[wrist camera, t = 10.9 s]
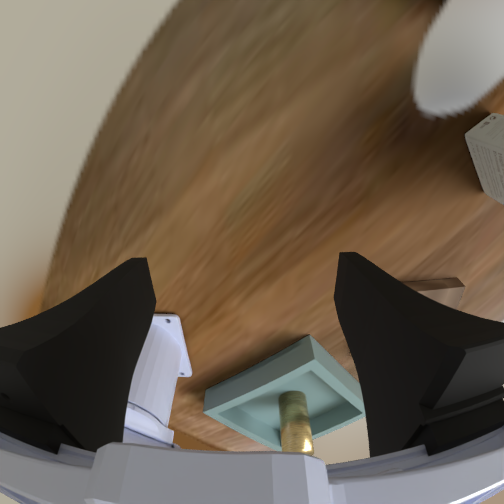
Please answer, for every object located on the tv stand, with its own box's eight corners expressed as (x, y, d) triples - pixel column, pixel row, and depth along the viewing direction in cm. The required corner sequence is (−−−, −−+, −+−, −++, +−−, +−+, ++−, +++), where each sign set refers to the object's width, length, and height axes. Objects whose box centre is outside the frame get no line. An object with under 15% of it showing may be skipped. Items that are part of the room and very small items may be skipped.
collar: (361, 354, 28) (365, 365, 27) (379, 283, 24) (386, 294, 23) (432, 344, 28) (437, 353, 27) (457, 277, 24) (465, 286, 23)
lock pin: (276, 406, 31) (280, 461, 25) (279, 391, 30) (284, 449, 23) (303, 405, 31) (311, 459, 25) (307, 390, 30) (316, 447, 24)
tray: (278, 432, 35) (279, 451, 33) (205, 389, 30) (202, 412, 28) (368, 391, 31) (374, 411, 29) (309, 334, 27) (314, 358, 24)
